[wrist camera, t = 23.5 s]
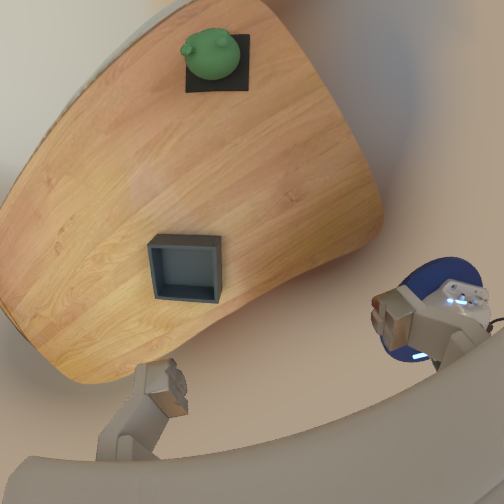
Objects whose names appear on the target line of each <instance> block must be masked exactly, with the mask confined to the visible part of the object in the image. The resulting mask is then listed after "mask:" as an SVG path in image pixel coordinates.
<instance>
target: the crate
mask: <svg viewBox="0 0 504 504" xmlns="http://www.w3.org/2000/svg"><path fill="white" fill-rule="evenodd" d="M147 246H148V254H149V262H150V269H151V276H152V282H153V289H154V295H155V299H163V300H175V301H188V302H202V303H217V304H218V303H219V299H220V296H221V292H222V261H221V236H206V235H174V234H157V235H156V236H155V237H154V238H153V239H152V240H151V241H150V242H149V243H148V244H147Z"/></svg>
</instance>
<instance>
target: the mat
mask: <svg viewBox="0 0 504 504" xmlns="http://www.w3.org/2000/svg"><path fill="white" fill-rule="evenodd" d="M230 36H231V37H233V38H234V40H235V41H236V42H237V44H238V46H239V49H240V60H239V63H238V65H237V67H236V69H235V70H234V71H233V72H232V73H231V74H229V75H228V76H226V77H224V78H221V79H218V80H207V79H203V78H200V77H198V76H196V75H195V74H194V73H192V72H191V71H190V69H189V68H188V66H187V64H186V93H189V92H206V91H248V78H249V39H250V35H249V34H238V35H230Z"/></svg>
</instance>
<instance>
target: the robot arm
mask: <svg viewBox="0 0 504 504" xmlns="http://www.w3.org/2000/svg"><path fill="white" fill-rule="evenodd" d="M452 285H453V286H452ZM488 297H489V293H488V290H487V289H486V288H483V287H479V286H476V285H472V284H468V283H465V282H461V281H457V280H454V279H447V280H446V281H445V282H444V283H443V284H442V285H441V286H440V287H439V289H437V290H436V291H434V292H433V293H431V294H430V295H428V296H427V297H426V298H425V299H423V300H422V301H421V300H420V299H419V298H418V297H417V296H416V295H415V294H414V293H413V292H412V291H411V290H410V289H409V288H408V287H407V286H406V285H402V286H399V287H397V288H395V289H392V290H390V291H388V292H385V293H382V294H380V295H377V296H375V297H373V299H372V306H373V307H374V309H373V311H372V313H371V321H372V325H373V327H374V329H375V331H376V332H377V334H379V335H382V336H383V342H384V344H385V345H386V347H387V348H388V349H389V351H390V352H391V351H393V350H396V349H398V348H400V347H402V346H405V345H407V344H408V346H410V347H412V348H414V349H416V350H418V351H420V352H422V353H421V354H417V355H413V358H414V359H416V358H420V357H424V356H428V357H429V358H430V359H431V361H432V363H433V365H434V367H435V369H436V371H437V373H435V374H433V375H432V376H430V377H428V378H426V379H424V380H423V381H421V382H419V383H417V384H415V385H414V386H412V387H410V388H408V389H406V390H404V391H402V392H400V393H398V394H396V395H394V396H392V397H389V398H387V399H385V400H383V401H381V402H379V403H377V404H374V405H372V406H370V407H367V408H365V409H363V410H360V411H358V412H356V413H353V414H351V415H348V416H346V417H343V418H341V419H338V420H335V421H332V422H330V423H327V424H324V425H321V426H318V427H315V428H313V429H309V430H306V431H304V432H300V433H297V434H293V435H290V436H287V437H283V438H279V439H276V440H272V441H268V442H264V443H260V444H256V445H252V446H247V447H243V448H238V449H233V450H228V451H223V452H218V453H211V454H205V455H198V456H192V457H183V458H174V459H164V460H161V459H159V458H158V457H157V456H155V455H154V454H153V453H152V451H153V449H154V447H155V445H156V443H157V442H158V440H159V438H160V436H161V434H162V432H163V430H164V428H165V426H166V424H167V423H168V421H169V418H172V417H178V416H183V415H188V401H187V400H186V398H185V397H184V396H185V395H186V393H187V384H186V380H185V377H184V375H183V373H182V372H181V371H180V370H178V369H177V368H176V367H177V366H176V365H177V364H176V362H175V361H174V359H172V358H169V359H165V360H160V361H153V362H148V363H143V364H138V365H137V366H136V369H135V377H134V384H133V392H132V396H131V397H128V399H127V400H126V401H125V403H124V404H123V405H122V407H121V408H120V409H119V410H118V412H117V413H116V414H115V416H114V417H113V418H112V419H111V421H110V422H109V423H108V425H107V426H106V427H105V428H104V430H103V431H102V432H101V434H100V435H99V438H98V445H97V453H96V461H76V460H63V459H54V458H45V457H39V456H29V457H27V458H26V459H25V460H24V461H23V462H22V463H21V464H20V465H19V466H18V468H17V469H16V470H15V471H14V472H13V473H12V474H11V475H10V477H9V479H8V482H7V484H6V487H5V492H4V496H3V501H2V504H504V327H503V328H502V329H500V330H499V331H498V332H497V333H495V334H494V335H493V336H491V333H490V332H491V331H492V329H493V325H492V324H493V323H495V322H497V321H501V320H504V318H499V319H496V320H493V321H492V322H489V321H490V316H491V311H490V308H489V306H488V305H487V304H488ZM489 333H490V334H489Z"/></svg>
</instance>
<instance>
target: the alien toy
mask: <svg viewBox="0 0 504 504" xmlns="http://www.w3.org/2000/svg"><path fill="white" fill-rule="evenodd" d="M180 52H181V54H182V55H183V56H185V61H186V64H187V66H188V68H189V69H190V71H191V72H192V73H194V74H195V75H196V76H198V77H200V78H203V79H207V80H218V79H221V78H224V77H226V76H228V75H229V74H231V73H232V72H233V71H234V70H235V69H236V67H237V65H238V63H239V60H240V49H239V46H238V44H237V42H236V41H235V40H234V38H233V37H231V36H230V34H229V32H228V31H227V30H225V29H220V28H218V29H215V28H211V29H206V30H203V31H201V32H199V33H195V34H193V35H191V36H190V37H188V38H187V39H186V44H184V45H183V46H182V47H181V50H180Z"/></svg>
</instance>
